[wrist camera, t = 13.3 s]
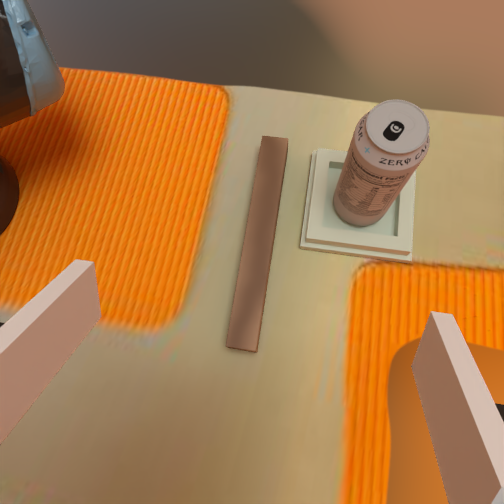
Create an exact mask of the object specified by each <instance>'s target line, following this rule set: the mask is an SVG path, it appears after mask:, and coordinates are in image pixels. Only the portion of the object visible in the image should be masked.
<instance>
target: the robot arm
mask: <svg viewBox="0 0 504 504" xmlns="http://www.w3.org/2000/svg"><path fill="white" fill-rule="evenodd" d="M64 88H65V85H64V80H63V77H62V74H61V72H60V70H59V67H58V65H57V63H56V60H55V58H54V56H53V54H52V51H51V49H50V47H49V45H48V43H47V41H46V38H45V36H44V35H43V32H42V30H41V28H40V26H39V24H38V22H37V19H36V17H35V15H34V13H33V11H32V9H31V7H30V5H29V3H28V1H27V0H0V128H2V127H5V126H7V125H10V124H12V123H14V122H17V121H19V120H22V119H24V118H26V117H29V116H33V115H35V114H36V112H37V111H39V110H41V109H43V108H45V107H47V106H49V105H51V104H52V103H54V102H56V101H58V100H59V99H60V98H61V97H62V95H63V93H64ZM18 195H19V187H18V180H17V177H16V174H15V172H14V170H13V168H12V166H11V165H10V164H9V162H8V161H7V160H6V159H5V158H3V157H2V156H1V155H0V234H1V233H2V232H3V231H4V230H5V228H6V227H7V225H8V224H9V222H10V220H11V219H12V217H13V214H14V212H15V209H16V206H17V202H18ZM100 318H101V311H100V304H99V296H98V289H97V281H96V274H95V266H94V262H91V261H84V260H77V259H76V260H75V261H73V262H72V263H71V264H70V265H69V266H68V267H67V268H66V269H65V270H64V271H62V272H61V273H60V274H59V275H58V276H57V277H56V278H55V279H54V280H52V281H51V282H50V283H49V284H48V285H47V286H46V287H45V288H44V289H42V290H41V291H40V292H39V293H38V294H37V295H36V296H35V297H34V298H32V299H31V300H30V301H29V302H28V303H27V304H26V305H25V306H24V307H23V308H21V309H20V310H19V311H18V312H17V313H16V314H15V315H14V316H13V317H11V318H10V319H9V320H8V321H7V322H6V323H1V322H0V445H1V443H2V442H3V441H4V439H5V438H6V437H7V436H8V434H9V433H10V432H11V431H12V429H13V428H14V427H15V426H16V424H17V423H18V422H19V420H20V419H21V418H22V417H23V415H24V414H25V413H26V412H27V410H28V409H29V408H30V407H31V405H32V404H33V403H34V401H35V400H36V399H37V398H38V396H39V395H40V394H41V393H42V391H43V390H44V389H45V387H46V386H47V385H48V384H49V382H50V381H51V380H52V379H53V377H54V376H55V375H56V374H57V372H58V371H59V370H60V368H61V367H62V366H63V365H64V363H65V362H66V361H67V360H68V358H69V357H70V356H71V355H72V353H73V352H74V351H75V349H76V348H77V347H78V346H79V344H80V343H81V342H82V341H83V339H84V338H85V337H86V336H87V334H88V333H89V332H90V330H91V329H92V328H93V327H94V325H95V324H96V323H97V322H98V320H99V319H100ZM411 367H412V371H413V374H414V378H415V382H416V385H417V389H418V393H419V396H420V400H421V403H422V407H423V411H424V414H425V418H426V422H427V425H428V429H429V433H430V436H431V440H432V444H433V447H434V451H435V455H436V458H437V462H438V466H439V469H440V473H441V476H442V480H443V484H444V488H445V491H446V495H447V498H448V502H449V504H504V405H501V404H495V403H494V401H493V399H492V397H491V395H490V392H489V390H488V388H487V386H486V384H485V382H484V380H483V378H482V375H481V373H480V371H479V369H478V367H477V365H476V363H475V361H474V359H473V357H472V355H471V352H470V350H469V348H468V346H467V344H466V342H465V340H464V337H463V335H462V333H461V331H460V329H459V327H458V325H457V323H456V321H455V318H454V316H453V314H446V313H440V312H433V311H431V313H430V316H429V318H428V321H427V324H426V327H425V330H424V332H423V335H422V338H421V341H420V344H419V346H418V349H417V352H416V355H415V358H414V360H413V364H412V366H411Z"/></svg>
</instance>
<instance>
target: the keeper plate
mask: <svg viewBox="0 0 504 504" xmlns="http://www.w3.org/2000/svg"><path fill="white" fill-rule="evenodd" d="M347 153H348V151H340V150H331V149H322V148H318V150H317V151H313V153H312V160H311V167H310V175H309V182H308V190H307V197H306V205H305V212H304V220H303V227H302V235H301V243H300V249H306V250H313V251H321V252H328V253H335V254H343V255H350V256H357V257H365V258H372V259H380V260H387V261H394V262H402V263H410V262H411V261H412V241H413V221H414V201H415V182H416V170H415V171H414V173H413V174H412V176H411V177H410V179H409V180H408V182H407V183H406V184H405V186H404V187H403V189H402V190H401V192H400V193H399V195H398V196H397V198H396V199H395V200H394V202H393V203H392V205H391V206H390V208H389V209H388V211H387V212H386V213H385V215H384V216H383V217H382V218H381V219H380V220H379V221H378V222H376V223H374V224H371V225H367V226H358V225H354V224H351V223H348V222H347V221H345V220H344V219H343V218H341V217H340V215H339V214H338V213H337V211H336V209H335V207H334V202H333V197H334V192H335V189H336V186H337V183H338V180H339V177H340V174H341V171H342V168H343V165H344V162H345V159H346V156H347Z"/></svg>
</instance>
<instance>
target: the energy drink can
mask: <svg viewBox="0 0 504 504" xmlns="http://www.w3.org/2000/svg"><path fill="white" fill-rule="evenodd" d="M428 148H429V122H428V119H427V117H426V115H425V114H424V112H423V111H422V110H421V109H420V108H419V107H417V106H416V105H414V104H412V103H410V102H408V101H404V100H388V101H384V102H382V103H380V104H378V105H376V106H375V107H374V108H373V109H372V110H371V111H370V112H368V113H367V114H365V115H364V116H363V117H362V118H361V119H360V121H359V122H358V124H357V126H356V128H355V131H354V134H353V137H352V140H351V143H350V147H349V150H348V153H347V156H346V159H345V162H344V165H343V168H342V171H341V174H340V177H339V180H338V183H337V186H336V189H335V192H334V197H333V202H334V207H335V209H336V211H337V213H338V214H339V215H340V217H341V218H343V219H344V220H345V221H347V222H348V223H351V224H354V225H358V226H367V225H371V224H374V223H376V222H378V221H379V220H380V219H381V218H382V217H383V216H384V215H385V213H386V212H387V211H388V209H389V208H390V206H391V205H392V203H393V202H394V200H395V199H396V198H397V196H398V195H399V193H400V192H401V190H402V189H403V187H404V186H405V184H406V183H407V182H408V180H409V179H410V177H411V176H412V174H413V173H414V171H415V170H416V169H417V167H418V166H419V164H420V163H421V161H422V160H423V158H424V157H425V155H426V153H427V151H428Z"/></svg>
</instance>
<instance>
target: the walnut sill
mask: <svg viewBox="0 0 504 504" xmlns="http://www.w3.org/2000/svg"><path fill="white" fill-rule="evenodd" d="M287 152H288V138H279V137H270V136H262V141H261V147H260V152H259V158H258V164H257V170H256V175H255V181H254V187H253V193H252V198H251V204H250V210H249V216H248V221H247V227H246V233H245V239H244V244H243V250H242V256H241V262H240V267H239V273H238V279H237V285H236V290H235V296H234V302H233V307H232V313H231V319H230V325H229V330H228V336H227V342H226V347H228V348H232V349H238V350H245V351H251V352H257V349H258V343H259V336H260V330H261V323H262V316H263V310H264V303H265V297H266V290H267V284H268V277H269V270H270V264H271V257H272V251H273V244H274V238H275V231H276V224H277V218H278V211H279V205H280V198H281V192H282V185H283V178H284V172H285V165H286V159H287Z"/></svg>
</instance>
